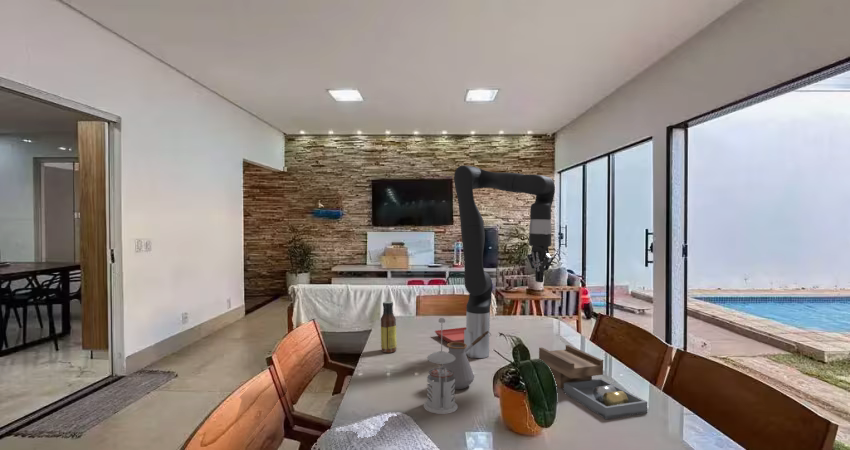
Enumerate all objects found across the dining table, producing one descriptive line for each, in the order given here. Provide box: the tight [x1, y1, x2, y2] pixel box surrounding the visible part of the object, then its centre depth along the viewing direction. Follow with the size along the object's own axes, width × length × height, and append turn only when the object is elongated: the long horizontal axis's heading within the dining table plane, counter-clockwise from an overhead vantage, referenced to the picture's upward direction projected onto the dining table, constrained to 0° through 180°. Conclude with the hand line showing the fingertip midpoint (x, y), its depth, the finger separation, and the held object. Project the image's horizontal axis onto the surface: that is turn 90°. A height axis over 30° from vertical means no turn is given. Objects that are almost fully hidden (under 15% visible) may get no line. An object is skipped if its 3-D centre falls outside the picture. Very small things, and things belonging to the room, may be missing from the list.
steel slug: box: [593, 385, 616, 402], centre depth 119 cm, size 5×4×4 cm
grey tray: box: [563, 378, 648, 420], centre depth 120 cm, size 14×18×3 cm
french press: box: [423, 317, 459, 415], centre depth 115 cm, size 10×12×25 cm
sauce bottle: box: [380, 301, 398, 354], centre depth 166 cm, size 7×6×20 cm
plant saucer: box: [434, 326, 466, 343], centre depth 184 cm, size 18×18×3 cm
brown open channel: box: [538, 344, 604, 389], centre depth 135 cm, size 12×17×10 cm
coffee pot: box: [442, 331, 492, 390], centre depth 135 cm, size 21×12×15 cm, turn 130°
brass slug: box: [603, 391, 628, 406], centre depth 115 cm, size 5×4×4 cm
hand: (539, 281), depth 143 cm, fingers closed
